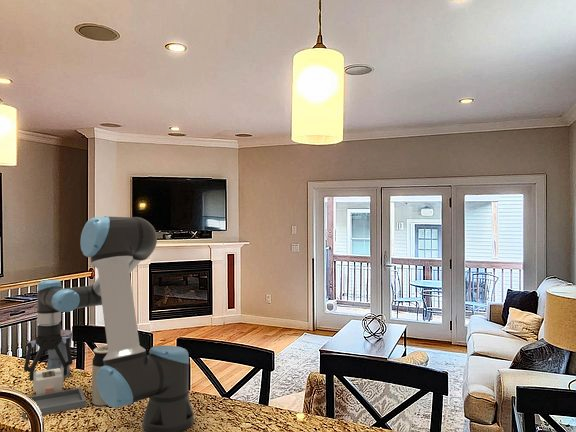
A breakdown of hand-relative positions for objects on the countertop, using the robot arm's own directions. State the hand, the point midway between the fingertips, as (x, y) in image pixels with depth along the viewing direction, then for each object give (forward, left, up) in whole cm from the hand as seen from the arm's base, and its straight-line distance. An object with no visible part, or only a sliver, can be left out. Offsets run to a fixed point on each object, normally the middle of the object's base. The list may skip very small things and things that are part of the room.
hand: (48, 387), depth 160 cm
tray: (-14, -1, -2) cm, 14 cm away
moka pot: (+16, -4, -2) cm, 17 cm away
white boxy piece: (0, 0, 0) cm, 0 cm away
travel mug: (-19, -16, -2) cm, 25 cm away
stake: (0, 0, -2) cm, 2 cm away
